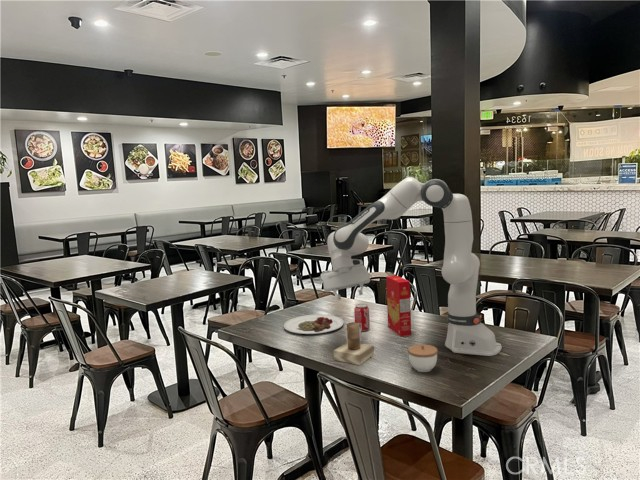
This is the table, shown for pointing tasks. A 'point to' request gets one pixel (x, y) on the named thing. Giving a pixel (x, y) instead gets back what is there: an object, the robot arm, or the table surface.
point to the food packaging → (398, 305)
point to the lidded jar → (423, 357)
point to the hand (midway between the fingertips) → (350, 296)
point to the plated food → (313, 324)
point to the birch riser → (354, 354)
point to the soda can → (362, 316)
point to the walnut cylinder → (353, 336)
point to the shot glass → (359, 332)
